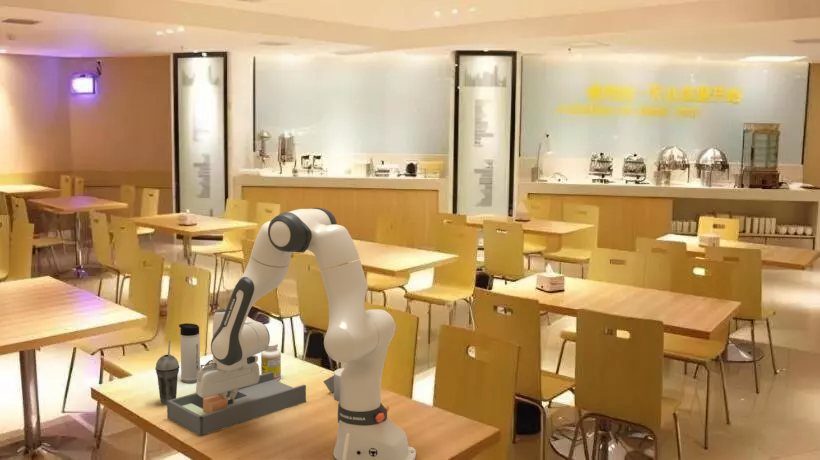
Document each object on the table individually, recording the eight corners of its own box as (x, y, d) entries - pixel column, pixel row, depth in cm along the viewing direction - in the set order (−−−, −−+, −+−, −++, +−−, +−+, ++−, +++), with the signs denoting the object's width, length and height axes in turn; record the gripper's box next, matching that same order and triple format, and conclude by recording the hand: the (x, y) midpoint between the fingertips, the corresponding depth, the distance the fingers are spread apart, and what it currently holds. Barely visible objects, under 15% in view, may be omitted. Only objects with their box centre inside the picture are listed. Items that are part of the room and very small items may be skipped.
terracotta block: (217, 407, 232) (217, 394, 231) (227, 411, 228) (226, 399, 228) (203, 411, 228) (203, 398, 228) (212, 416, 225) (212, 403, 224)
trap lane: (271, 387, 258) (271, 371, 257) (305, 401, 246) (305, 385, 245) (167, 418, 230) (167, 400, 229) (200, 436, 218) (199, 417, 217)
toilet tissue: (326, 390, 256) (326, 365, 255) (365, 393, 254) (365, 368, 253) (318, 400, 247) (319, 374, 246) (359, 403, 245) (359, 377, 244)
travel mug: (179, 378, 264) (177, 322, 261) (198, 376, 267) (197, 320, 264) (181, 384, 259) (180, 327, 256) (201, 382, 261) (200, 325, 258)
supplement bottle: (260, 376, 268) (260, 341, 266) (279, 375, 270) (279, 340, 268) (262, 383, 262) (262, 346, 260) (281, 381, 264) (281, 345, 262)
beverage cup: (151, 404, 241) (149, 342, 238) (168, 396, 247) (166, 337, 244) (168, 408, 238) (166, 346, 235) (185, 401, 244) (183, 340, 241)
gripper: (203, 370, 220) (203, 416, 222) (262, 355, 234) (262, 398, 236) (191, 365, 224) (192, 410, 226) (250, 350, 238) (250, 393, 241)
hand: (228, 404), depth 231 cm, fingers closed
